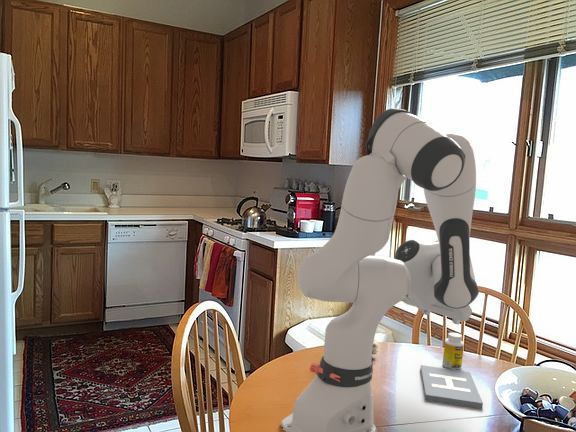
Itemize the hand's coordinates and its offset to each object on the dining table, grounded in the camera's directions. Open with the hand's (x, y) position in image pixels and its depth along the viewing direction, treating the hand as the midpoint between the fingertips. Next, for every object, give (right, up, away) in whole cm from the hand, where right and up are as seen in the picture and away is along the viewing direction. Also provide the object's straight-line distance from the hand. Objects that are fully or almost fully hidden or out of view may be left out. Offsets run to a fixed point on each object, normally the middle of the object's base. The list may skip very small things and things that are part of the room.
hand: (442, 317), depth 138 cm
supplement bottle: (+7, -18, +11) cm, 22 cm away
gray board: (+1, -19, -4) cm, 19 cm away
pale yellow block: (-20, -16, +15) cm, 29 cm away
